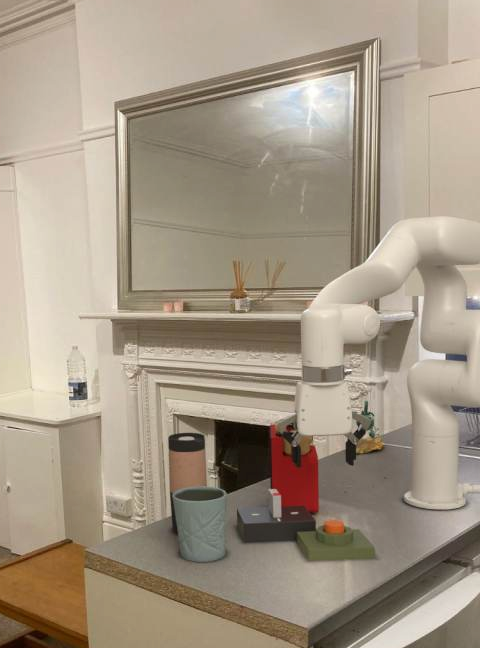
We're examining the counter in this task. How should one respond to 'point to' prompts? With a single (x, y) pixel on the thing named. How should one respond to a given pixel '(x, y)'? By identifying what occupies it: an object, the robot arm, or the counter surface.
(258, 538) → the plate
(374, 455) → the counter surface
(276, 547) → the counter surface
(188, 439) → the travel mug
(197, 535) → the teal embossed cup
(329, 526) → the button
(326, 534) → the button block
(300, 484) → the red coffee machine
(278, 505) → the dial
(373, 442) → the green character figurine
